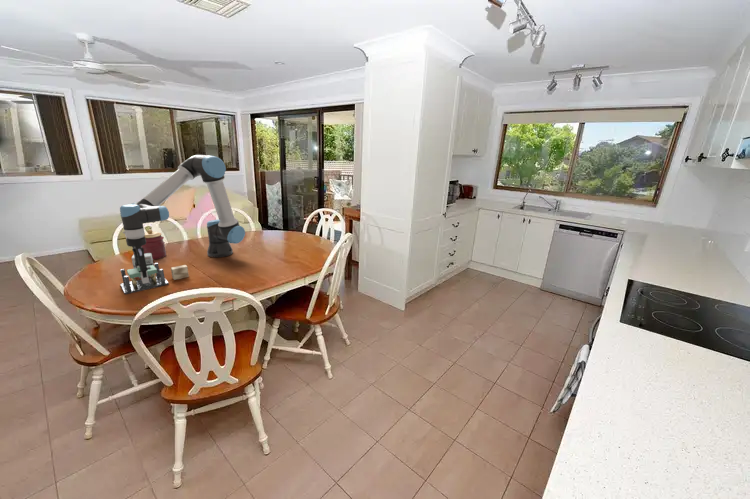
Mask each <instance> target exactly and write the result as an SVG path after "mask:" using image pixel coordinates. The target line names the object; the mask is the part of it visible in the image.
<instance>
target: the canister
mask: <svg viewBox="0 0 750 499" xmlns="http://www.w3.org/2000/svg"><path fill="white" fill-rule="evenodd" d="M144 232H145V238H146V244H145V245H142V246H141V247H142V248H143V249H144V254H146V253H151V254H152V259H153V260H157V259H162V258H164V257H166V256H167V250H166V246H165V241H164V236H162V232H161V233H160V232H159V231H153V229H147V230H146V231H144Z"/></svg>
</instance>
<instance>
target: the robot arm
mask: <svg viewBox="0 0 750 499" xmlns="http://www.w3.org/2000/svg"><path fill="white" fill-rule="evenodd" d="M226 171H227V168H226V165H225V163H224V161H223V160H222V159H221V158H220V157H218V156H216V155H215V156H214V155H211V154H210V155H207V154H206V155H205V154H195V155H192V156H190V157H189V158H187V159H186V160H184V161H183V162H182V163H180V164H179V165H178V166H177V170H175V171H174V172H173V173H172V174H170V175H169V177H167V178H166V179H165V180H164V181H162V182H161V183H160V184H159V185H157V186H156V187H155V188H154V189H152V190H151V191H150V192H149V193H148V194H147V195H146V196H144V197H143V198H141V199H140V200H139V201H138V202H133V203H131V204H124V205H123V204H122V205H121V206H119V211H120V213H119V214H120V218H121V222H122V226H123V230H124V231H122V234H124V236H125V242H126V246H128V247H132V249H131V250H132V252H133V255H134V257H135V263H136V265H137V268H139V267H140V271H139V272H140V274H141V277H139V278H138V279H140V280H141V279H142V284H145V283H149V278H150V277H148V273H147V271H148V269H147V265H146V261H145V256H144V249H143V248H142V247H141V246H142V245H145V244H146V238H145V232H146V231H145V227H144V224H149V223H155V222H162V221H167V220H168V219H169V218H170V212H169V209H168V208H167V206H166V205H162V204H163V203H164V202H165V201H167V200H168V199H169V198H171V196H173V195H174V194H175V193H176V192H178V190H179V189H180V188H182V187H183V186H184V185H185V184H187V182H189V181H190V180H191V181H193V180H194V179H195V178H196V177H197V178H198V177H199V176H200V178H201V179H202V182H203V183H204V184H206V185H207V188H208V191H209V195H210V197H211V199H212V203H213V206H214V209H215V211H216V215H217V217H218V219H212V220H208V221H207V223H206V229H207V236H208V247H207V251H206V252H207V253H206V254H207V256H208V257H210V258H223V257H228V256H231V255H232V254H233V252H234V251H233V247H232V245H231V244H235V245H237V244H240V243H241V242H242V241H243V240H244V238H245V236H246V230H245V228H244V227H243V226H242V225H240V223H239V220H238V219H237V218H235V215H234V213H233V209H232V206H231V203H230V200H229V196H228V193H227V191H226V187H225V183H224V180H225V174H226Z"/></svg>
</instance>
